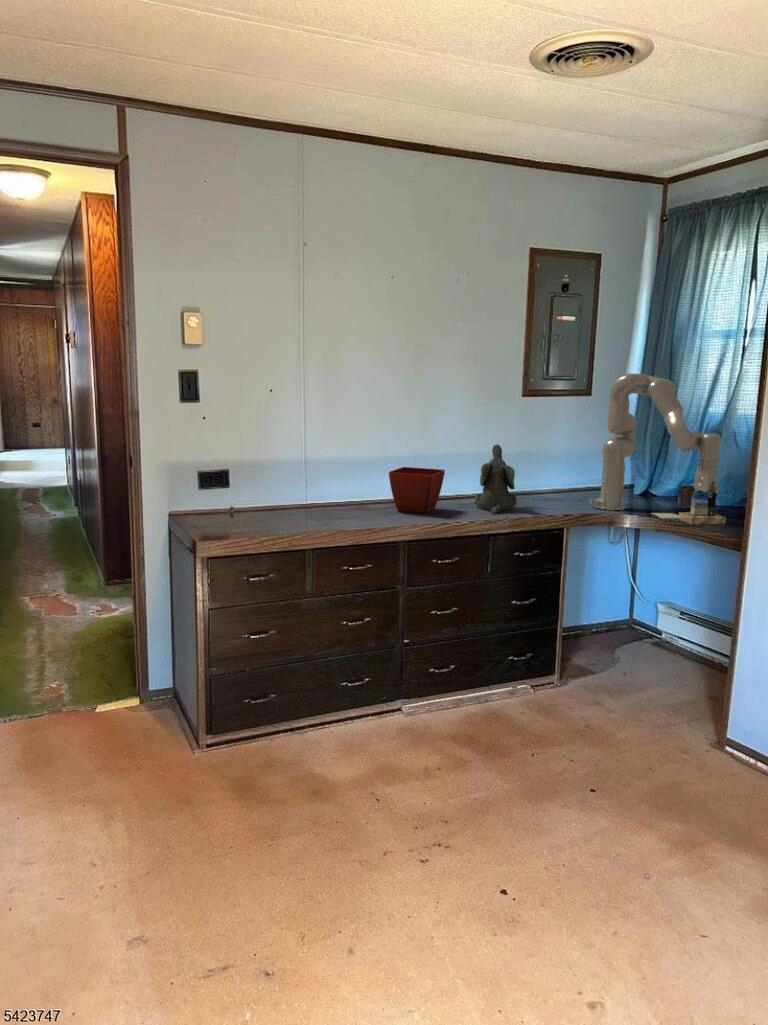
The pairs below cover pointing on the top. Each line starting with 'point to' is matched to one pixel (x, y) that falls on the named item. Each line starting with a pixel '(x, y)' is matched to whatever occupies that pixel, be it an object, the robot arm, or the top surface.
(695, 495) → the label tape box
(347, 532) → the top surface
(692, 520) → the pocket block
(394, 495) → the plant pot
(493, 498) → the grey seated figure statue
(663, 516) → the pad
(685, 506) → the small box
